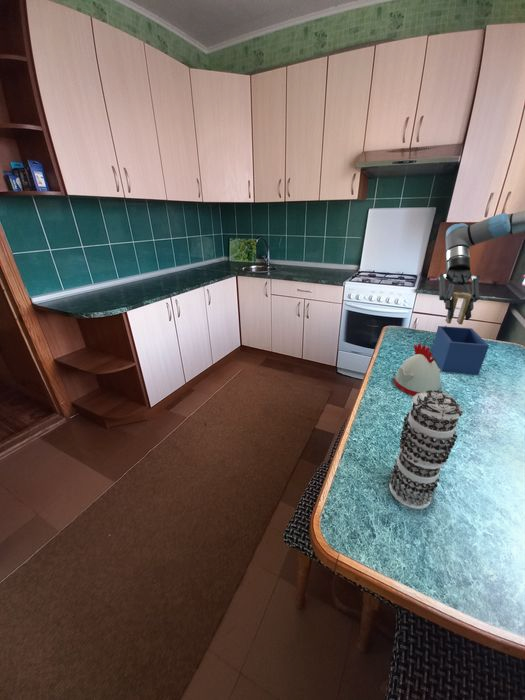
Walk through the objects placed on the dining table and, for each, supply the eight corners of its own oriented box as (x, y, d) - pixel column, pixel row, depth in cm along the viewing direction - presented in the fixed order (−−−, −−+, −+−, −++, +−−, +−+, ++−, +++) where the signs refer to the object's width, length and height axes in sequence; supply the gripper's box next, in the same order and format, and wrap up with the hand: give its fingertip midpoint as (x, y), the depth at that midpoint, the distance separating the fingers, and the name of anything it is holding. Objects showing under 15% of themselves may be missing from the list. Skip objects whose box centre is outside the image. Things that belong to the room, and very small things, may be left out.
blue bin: (430, 351, 122) (438, 325, 117) (463, 354, 119) (471, 328, 114) (441, 371, 108) (450, 342, 103) (478, 374, 105) (489, 345, 100)
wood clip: (459, 321, 109) (468, 292, 104) (462, 324, 106) (471, 295, 101) (445, 320, 110) (453, 292, 105) (447, 323, 107) (456, 294, 102)
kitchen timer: (417, 372, 108) (426, 335, 101) (448, 392, 96) (461, 352, 89) (385, 378, 104) (393, 341, 97) (414, 400, 92) (425, 359, 86)
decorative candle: (380, 493, 63) (403, 400, 52) (395, 467, 69) (419, 379, 58) (425, 519, 58) (462, 422, 47) (438, 489, 64) (473, 396, 53)
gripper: (479, 268, 111) (482, 324, 105) (428, 267, 115) (428, 320, 109) (490, 256, 104) (494, 315, 98) (435, 255, 109) (435, 311, 102)
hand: (459, 317), depth 103 cm, fingers closed on wood clip, 5 cm apart
